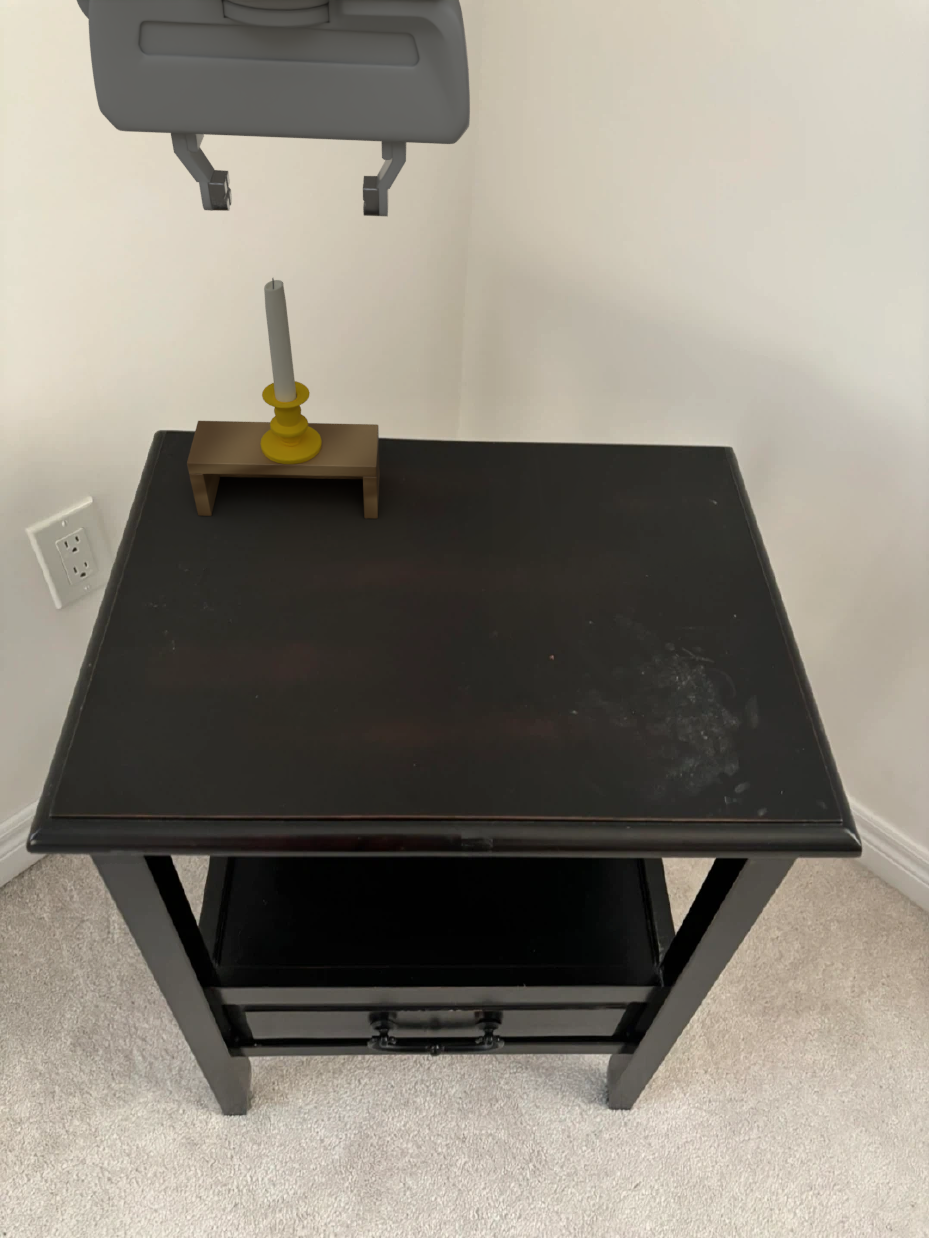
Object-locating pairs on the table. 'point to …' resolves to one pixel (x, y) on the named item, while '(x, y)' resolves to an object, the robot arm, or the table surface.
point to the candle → (285, 390)
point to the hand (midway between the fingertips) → (297, 209)
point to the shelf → (241, 455)
